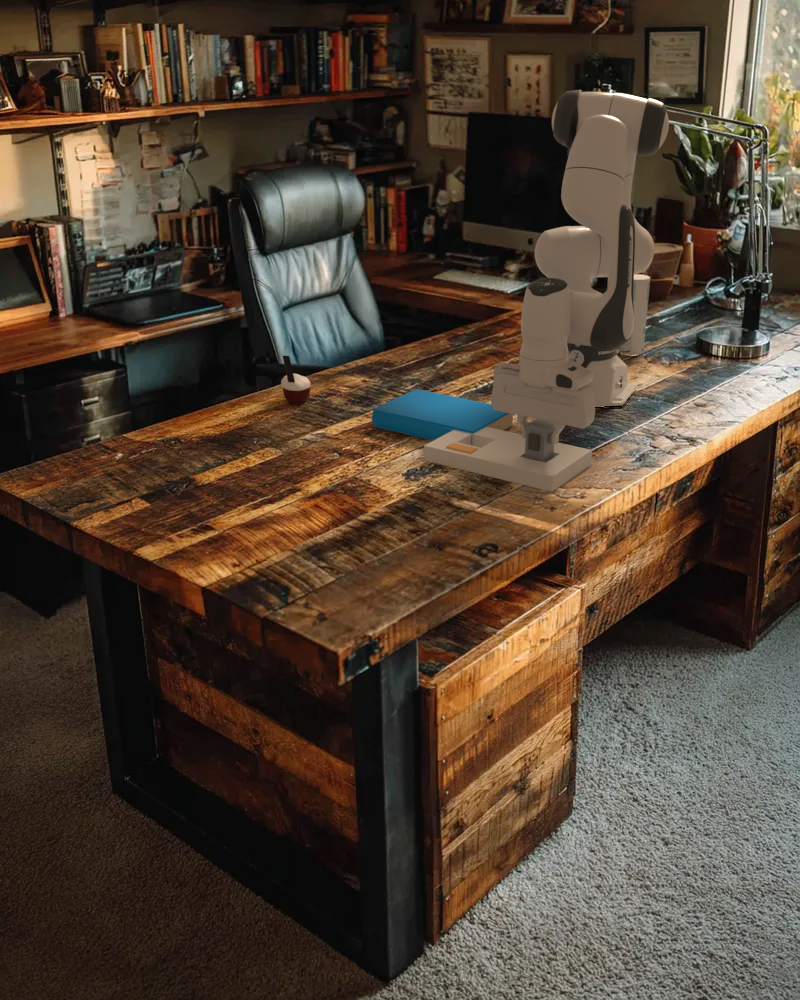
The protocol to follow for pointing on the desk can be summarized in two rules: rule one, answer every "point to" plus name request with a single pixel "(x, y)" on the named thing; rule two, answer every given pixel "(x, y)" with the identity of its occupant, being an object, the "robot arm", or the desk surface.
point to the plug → (539, 440)
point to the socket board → (506, 458)
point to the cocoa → (294, 385)
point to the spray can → (638, 316)
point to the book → (437, 415)
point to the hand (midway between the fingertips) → (540, 440)
